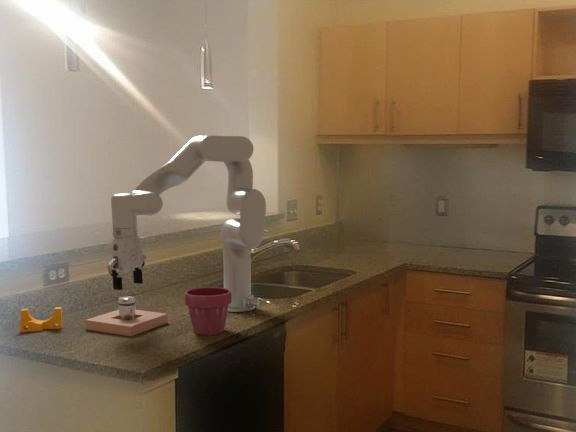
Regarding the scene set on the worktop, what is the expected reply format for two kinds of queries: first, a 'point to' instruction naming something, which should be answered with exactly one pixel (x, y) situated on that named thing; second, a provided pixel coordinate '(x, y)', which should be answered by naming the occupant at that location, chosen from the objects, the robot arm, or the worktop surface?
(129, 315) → the piston
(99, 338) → the worktop surface
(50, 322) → the pipe clamp
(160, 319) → the pink square holed slab
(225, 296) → the plant pot
